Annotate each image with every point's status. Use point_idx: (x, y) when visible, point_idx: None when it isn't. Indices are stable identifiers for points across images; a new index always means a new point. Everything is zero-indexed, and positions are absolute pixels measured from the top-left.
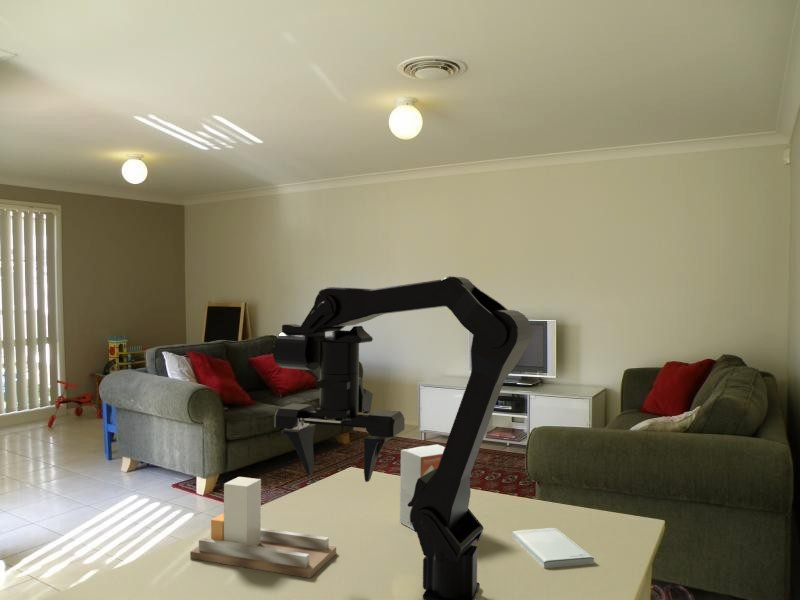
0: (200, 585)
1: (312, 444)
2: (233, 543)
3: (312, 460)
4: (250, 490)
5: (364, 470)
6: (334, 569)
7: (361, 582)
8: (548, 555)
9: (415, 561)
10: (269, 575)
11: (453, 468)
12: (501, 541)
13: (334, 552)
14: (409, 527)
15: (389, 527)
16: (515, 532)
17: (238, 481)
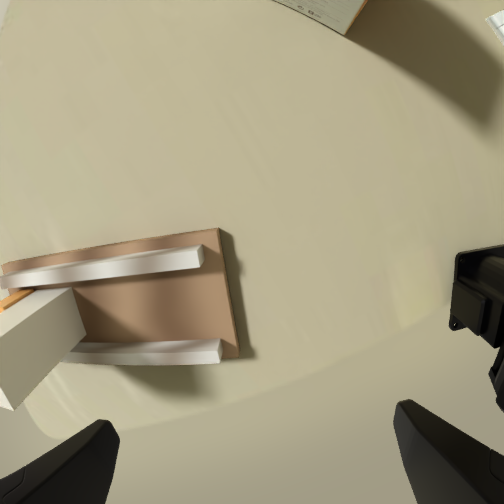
0: (116, 412)
1: (33, 502)
2: (67, 354)
3: (83, 461)
4: (13, 388)
5: (410, 475)
6: (261, 299)
7: (338, 322)
8: None
9: (402, 185)
10: (168, 365)
11: None
12: (484, 41)
13: (219, 239)
14: (303, 13)
15: (255, 27)
16: (497, 21)
17: None
